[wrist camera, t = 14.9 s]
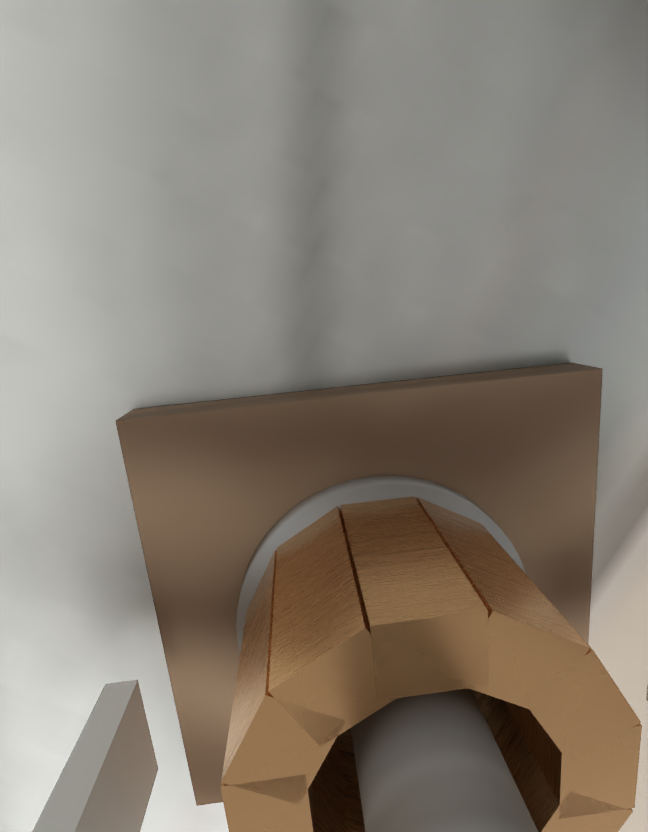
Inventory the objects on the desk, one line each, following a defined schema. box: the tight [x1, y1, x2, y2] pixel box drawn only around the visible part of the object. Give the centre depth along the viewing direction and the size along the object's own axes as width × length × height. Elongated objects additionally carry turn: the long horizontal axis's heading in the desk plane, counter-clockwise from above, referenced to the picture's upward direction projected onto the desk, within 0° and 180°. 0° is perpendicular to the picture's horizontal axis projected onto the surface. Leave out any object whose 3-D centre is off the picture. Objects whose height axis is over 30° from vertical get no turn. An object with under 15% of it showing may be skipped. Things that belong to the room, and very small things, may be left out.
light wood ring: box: [221, 496, 642, 832], centre depth 11 cm, size 8×8×5 cm
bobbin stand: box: [116, 363, 602, 832], centre depth 10 cm, size 14×14×13 cm
